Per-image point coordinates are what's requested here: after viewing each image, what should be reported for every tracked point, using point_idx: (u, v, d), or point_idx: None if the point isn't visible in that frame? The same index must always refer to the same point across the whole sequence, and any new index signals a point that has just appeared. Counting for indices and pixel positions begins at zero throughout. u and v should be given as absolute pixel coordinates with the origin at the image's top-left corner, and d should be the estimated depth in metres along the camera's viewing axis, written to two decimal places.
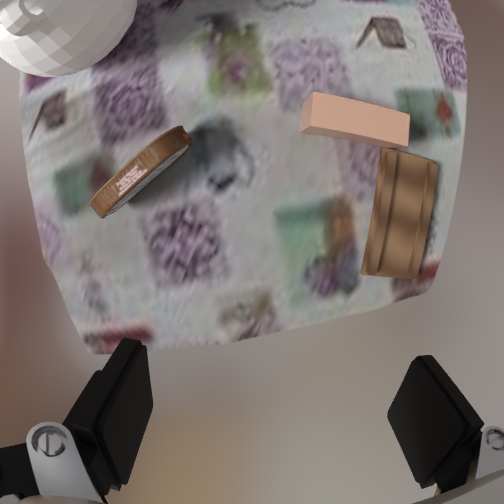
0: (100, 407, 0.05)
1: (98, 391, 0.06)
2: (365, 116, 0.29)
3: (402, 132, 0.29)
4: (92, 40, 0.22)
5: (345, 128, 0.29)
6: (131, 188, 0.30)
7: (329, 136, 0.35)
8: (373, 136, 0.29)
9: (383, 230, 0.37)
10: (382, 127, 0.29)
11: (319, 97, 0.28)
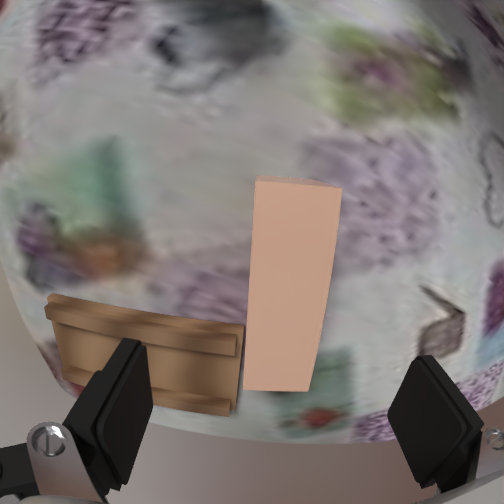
0: (100, 407, 0.05)
1: (98, 391, 0.06)
2: (293, 308, 0.15)
3: (269, 380, 0.16)
4: None
5: (258, 264, 0.14)
6: None
7: None
8: (250, 326, 0.15)
9: (104, 330, 0.21)
10: (272, 343, 0.16)
11: (328, 202, 0.13)
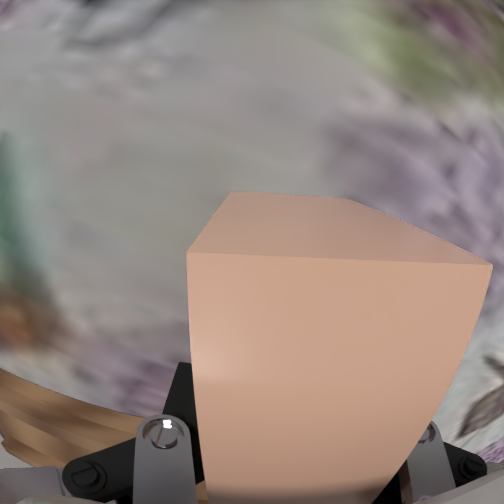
0: None
1: None
2: None
3: None
4: None
5: (223, 469, 0.04)
6: None
7: None
8: None
9: (28, 421, 0.11)
10: None
11: (453, 315, 0.03)
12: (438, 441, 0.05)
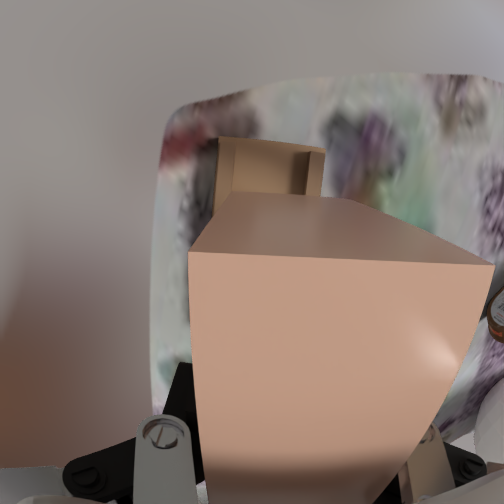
0: None
1: None
2: None
3: None
4: None
5: (224, 469, 0.04)
6: None
7: None
8: None
9: None
10: None
11: (455, 315, 0.03)
12: (438, 441, 0.05)
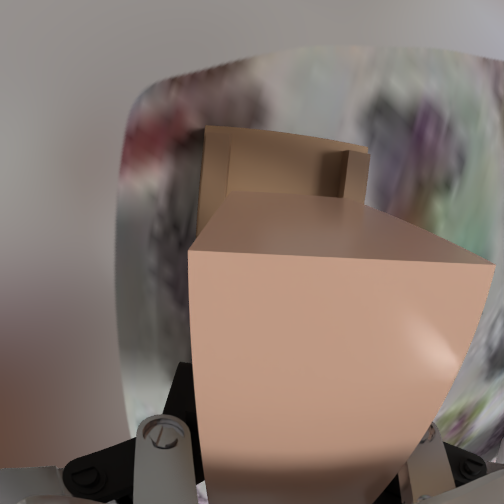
0: None
1: None
2: None
3: None
4: None
5: (224, 469, 0.04)
6: None
7: None
8: None
9: None
10: None
11: (456, 314, 0.03)
12: (438, 441, 0.05)
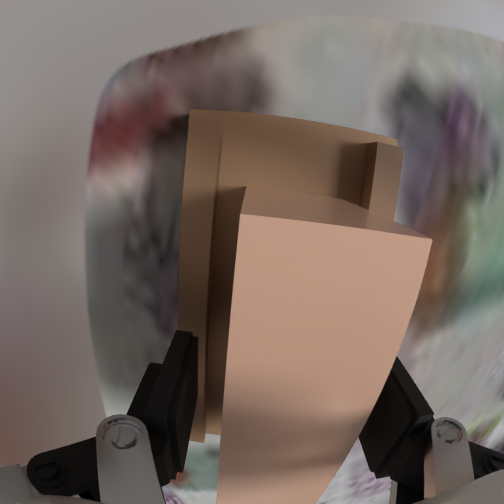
0: (171, 395, 0.06)
1: (165, 380, 0.07)
2: (302, 443, 0.07)
3: None
4: None
5: (240, 386, 0.06)
6: None
7: None
8: (224, 461, 0.07)
9: None
10: (261, 478, 0.08)
11: (403, 269, 0.06)
12: (464, 442, 0.05)
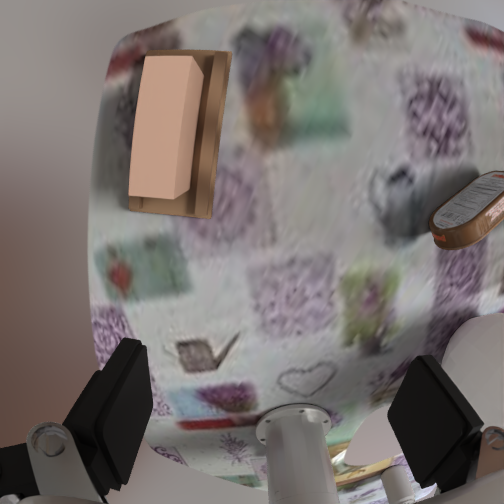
0: (101, 407, 0.05)
1: (98, 391, 0.06)
2: (160, 126, 0.21)
3: (145, 186, 0.23)
4: (494, 347, 0.26)
5: (141, 99, 0.20)
6: (497, 199, 0.23)
7: None
8: (134, 140, 0.21)
9: (209, 110, 0.26)
10: (147, 153, 0.22)
11: (183, 63, 0.20)
12: None
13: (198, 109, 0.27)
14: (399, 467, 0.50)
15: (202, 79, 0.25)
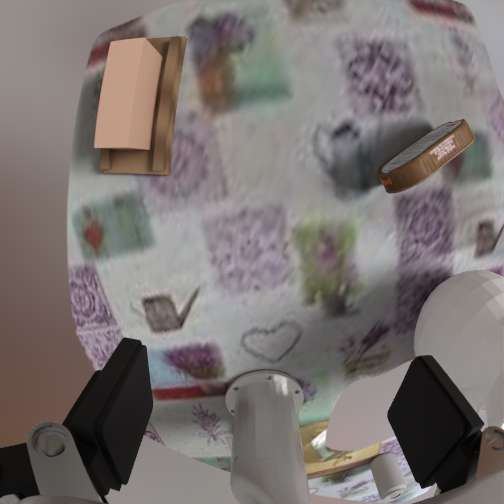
0: (101, 407, 0.05)
1: (98, 391, 0.06)
2: (120, 92, 0.24)
3: (107, 139, 0.26)
4: (466, 298, 0.28)
5: (106, 73, 0.23)
6: (442, 138, 0.26)
7: None
8: (100, 104, 0.24)
9: (164, 82, 0.29)
10: (109, 113, 0.25)
11: (138, 43, 0.23)
12: None
13: (157, 84, 0.30)
14: (389, 455, 0.50)
15: (160, 59, 0.29)
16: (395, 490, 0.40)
